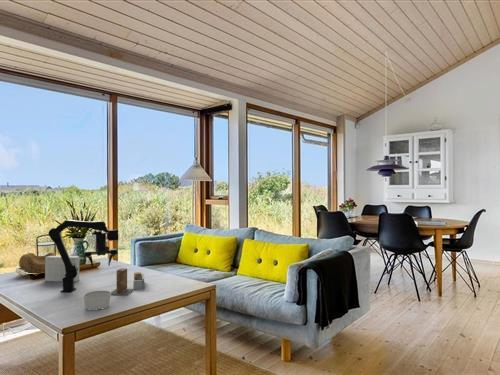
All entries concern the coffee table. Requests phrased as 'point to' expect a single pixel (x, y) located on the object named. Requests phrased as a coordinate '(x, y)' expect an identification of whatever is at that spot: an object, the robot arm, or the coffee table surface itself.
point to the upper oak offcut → (137, 276)
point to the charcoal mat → (122, 293)
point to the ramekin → (97, 299)
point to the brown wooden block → (121, 280)
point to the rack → (139, 282)
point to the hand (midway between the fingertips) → (100, 266)
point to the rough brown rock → (34, 262)
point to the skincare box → (58, 268)
